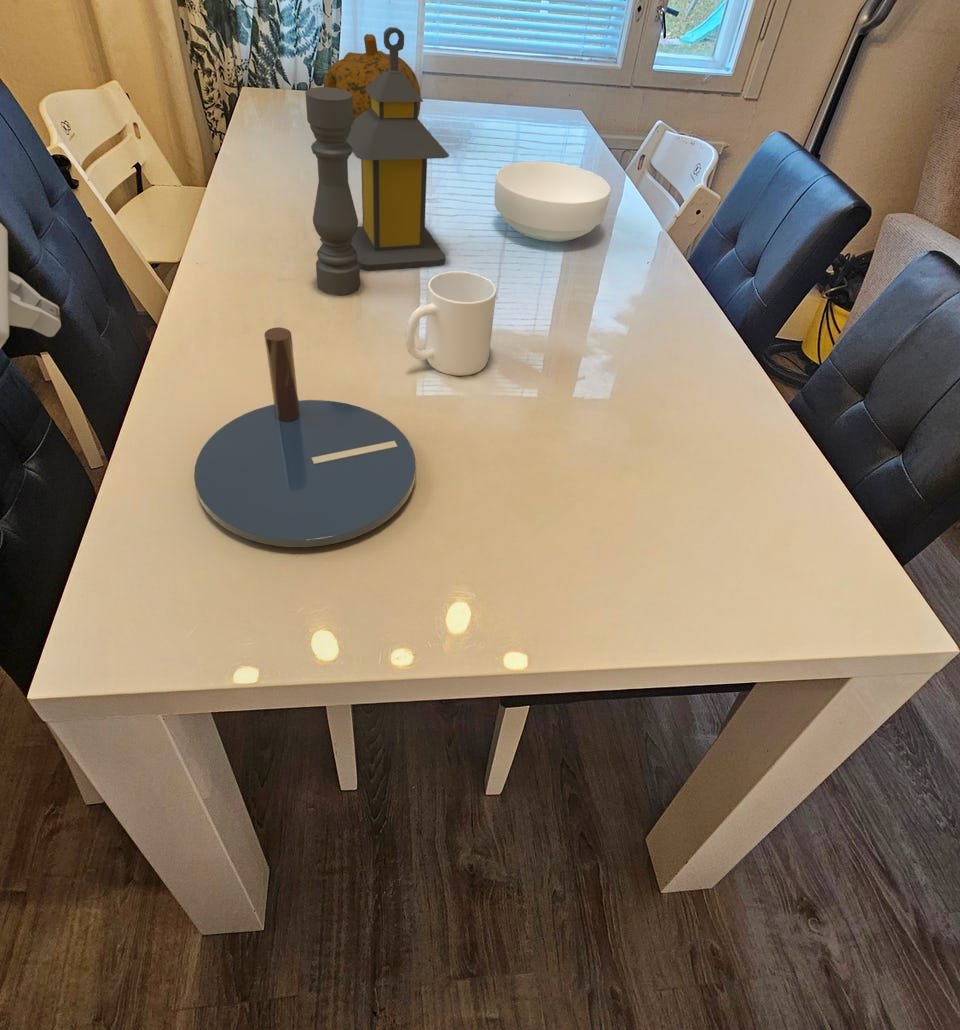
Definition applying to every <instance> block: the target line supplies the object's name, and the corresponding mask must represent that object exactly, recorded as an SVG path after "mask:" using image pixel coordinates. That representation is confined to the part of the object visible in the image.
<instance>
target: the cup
mask: <svg viewBox="0 0 960 1030" xmlns="http://www.w3.org/2000/svg"><path fill="white" fill-rule="evenodd" d="M496 299H497V287H496V285H495V283H494V282H493V281H492V280H491V279H489V278H488V277H485V276H483V275H481V274H478V273H474V272H470V271H461V270H460V271H458V270H457V271H446V272H441V273H438V274H435V275H434V276H433V277H431V278H430V279H429V281H428V283H427V301H426V304H424V305H420V306H419V307H417V308H415V309H414V310H413V311H412V312H411V314H410V316H409V319H408V322H407V325H406V331H405V345H406V349H407V352H408V354H409V355H410V356H411V357H412V358H414V359H416V360H419V361H420V360H427V362H428V363H429V365H430V366H431V367H432V368H433V369H434V370H436V371H438V372H440V373H442V374H446V375H451V376H456V377H457V376H458V377H459V376H463V377H464V376H470V375H471V376H472V375H475V374H477V373H479V372H480V371H482V370H483V369H484V368H485V367H486V365H487V364H488V361H489V358H490V352H491V342H492V334H493V324H494V316H495V308H496ZM423 317H426V327H425V348H423V349H418V348H417V346H416V340H415V339H416V338H415V336H416V330H417V326H418V323H419V321H420V319H422V318H423Z"/></svg>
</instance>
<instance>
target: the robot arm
mask: <svg viewBox="0 0 960 1030" xmlns="http://www.w3.org/2000/svg"><path fill="white" fill-rule="evenodd" d="M8 236H9V232H8V229H7V228H6V227H5V226H4V225H3V223H1V222H0V350H2V347H3V346H4V345H5V344H6V342H7V340H8V339H9V337H10V326H11V327H17V328H24V329H29V330H33V331H35V332H37V333H39V334H40V335H43V336H45V337H46V338H53V337H55V336H56V334H57V333H58V331H60V329H61V328H62V320H61V313H60V307H59V306H58V305H57V304H56V303H53V302H52V301H50V300H48V299H47V298H45V297H44V296H41V294H40V293H39V292H37V291H36V290H35V289H34V288H33V287H32V286H31V285H30V284H29V283H28V282H26V281H25V280H24V279H23V278H22V277H20V276H19V275H17V274H15V273H14V272H11V271H10V270H9V237H8Z"/></svg>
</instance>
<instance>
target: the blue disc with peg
mask: <svg viewBox="0 0 960 1030" xmlns="http://www.w3.org/2000/svg"><path fill="white" fill-rule="evenodd" d="M263 335H264V343H265V350H266V355H267V356H266V358H267V364H268V370H269V371H268V372H269V378H270V386H271V394H272V400H273V401H272V402H273V404H270V405H265V406H262V407H260V408H256V409H254V410H250V411H249V412H246V413H244V414H242V415H240V416H238V417H236V418H233V419H232V420H231V421H228V423H226V424H224V425H223V426H222V427H221V428H219V429H218V430H217V431H215V432H214V433H213V435H211V437H209V438H208V439H207V441H205V444H204V445H203V446H202V448H201V450H200V452H199V453H198V456H197V458H196V461H195V465H194V471H193V472H194V473H193V478H194V480H193V481H194V486H195V490H196V493H197V497H198V499H199V501H200V504H201V505H202V507H203V509H204V510H205V511H206V513H207V514H208V515H209V516H210V517H211V518H212V519H213V521H215V522H216V523H217V524H219V525H220V526H221V527H222V528H224V529H226V530H227V531H230V532H231V533H233V534H235V535H237V536H239V537H241V538H244V539H245V540H249V541H253V542H256V543H259V544H264V545H270V546H274V547H284V548H285V547H286V548H311V547H312V548H313V547H321V546H322V547H323V546H327V545H333V544H338V543H342V542H344V541H345V542H346V541H348V540H349V541H350V540H352V539H354V538H357V537H360V536H362V535H365V534H367V533H369V532H371V531H373V530H374V529H377V528H378V527H380V526H382V525H383V524H384V523H385V522H387V521H388V520H390V519H391V518H392V517H393V516H394V515H395V514H397V513H398V511H400V509H401V508H402V507H403V506H404V504H405V503H406V502H407V501H408V498H409V497H410V495H411V493H412V491H413V488H414V485H415V481H416V473H417V471H416V470H417V465H416V463H417V462H416V456H415V453H414V448H413V446H412V445H411V443H410V441H409V439H408V438H407V436H406V435H405V433H404V432H402V431H401V429H399V427H397V426H396V425H395V424H393V422H391V421H390V420H389V419H387V418H385V417H383V416H382V415H380V414H378V413H376V412H374V411H372V410H369V409H368V408H364V407H360V406H358V405H354V404H350V403H346V402H340V401H335V400H324V399H323V400H322V399H303V400H301V399H300V400H299V394H298V392H299V391H298V384H297V383H298V382H297V375H296V365H295V357H294V356H295V355H294V347H293V346H294V345H293V337H292V332H291V331H290V329H288V328H285V327H279V326H278V327H277V326H276V327H271V328H268V329H267V330H266V331H265V332H264V334H263Z"/></svg>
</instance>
